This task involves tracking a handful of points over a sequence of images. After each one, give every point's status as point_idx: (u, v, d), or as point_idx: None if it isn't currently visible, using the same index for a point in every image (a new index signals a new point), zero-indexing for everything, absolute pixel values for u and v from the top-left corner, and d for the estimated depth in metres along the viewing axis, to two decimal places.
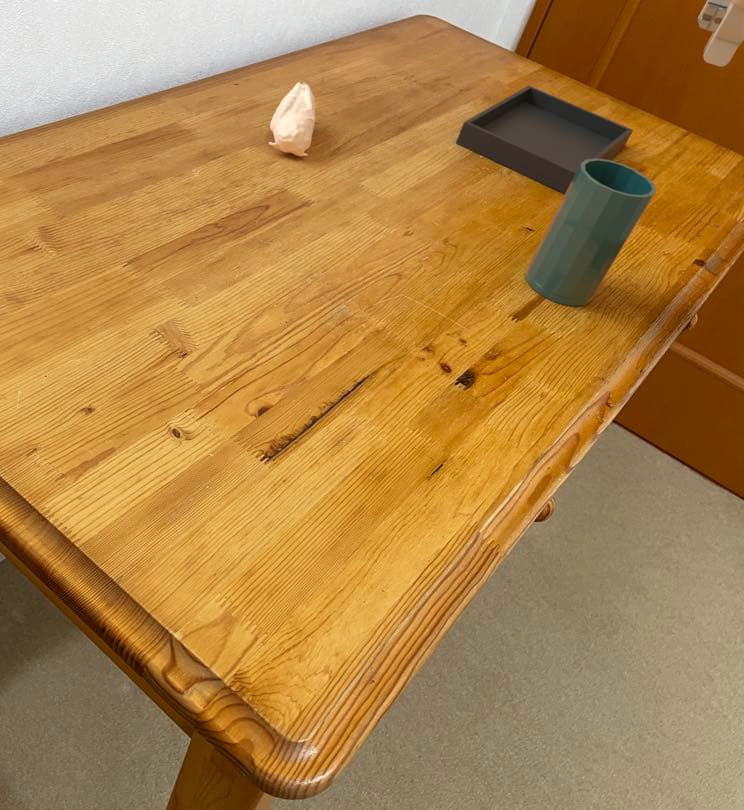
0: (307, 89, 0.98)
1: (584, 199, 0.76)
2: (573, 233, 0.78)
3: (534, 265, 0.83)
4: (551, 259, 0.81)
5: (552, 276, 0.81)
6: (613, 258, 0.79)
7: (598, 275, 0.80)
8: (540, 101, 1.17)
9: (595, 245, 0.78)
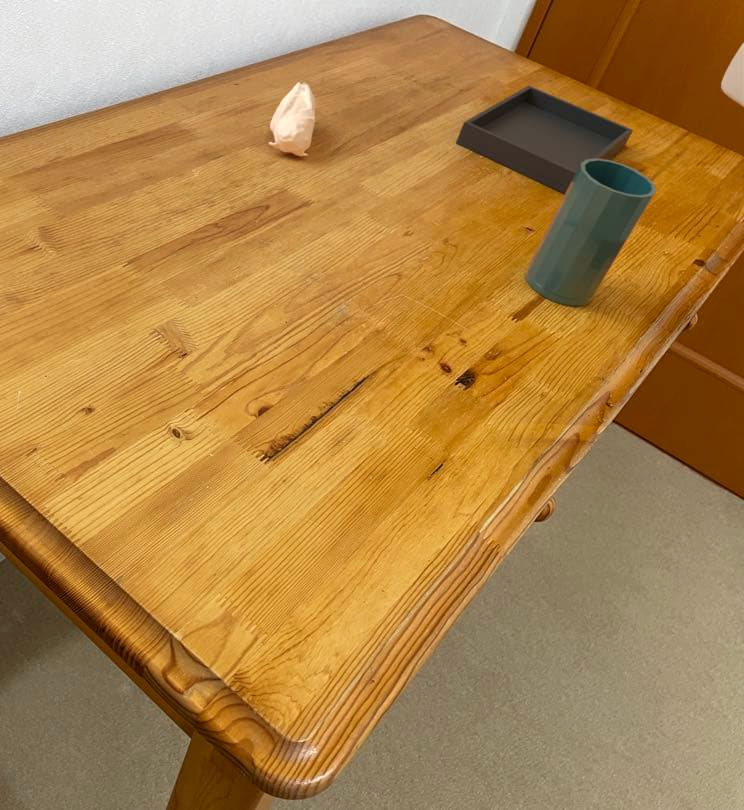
0: (307, 89, 0.98)
1: (584, 199, 0.76)
2: (573, 233, 0.78)
3: (534, 265, 0.83)
4: (551, 259, 0.81)
5: (552, 276, 0.81)
6: (613, 258, 0.79)
7: (598, 275, 0.80)
8: (540, 101, 1.17)
9: (595, 245, 0.78)
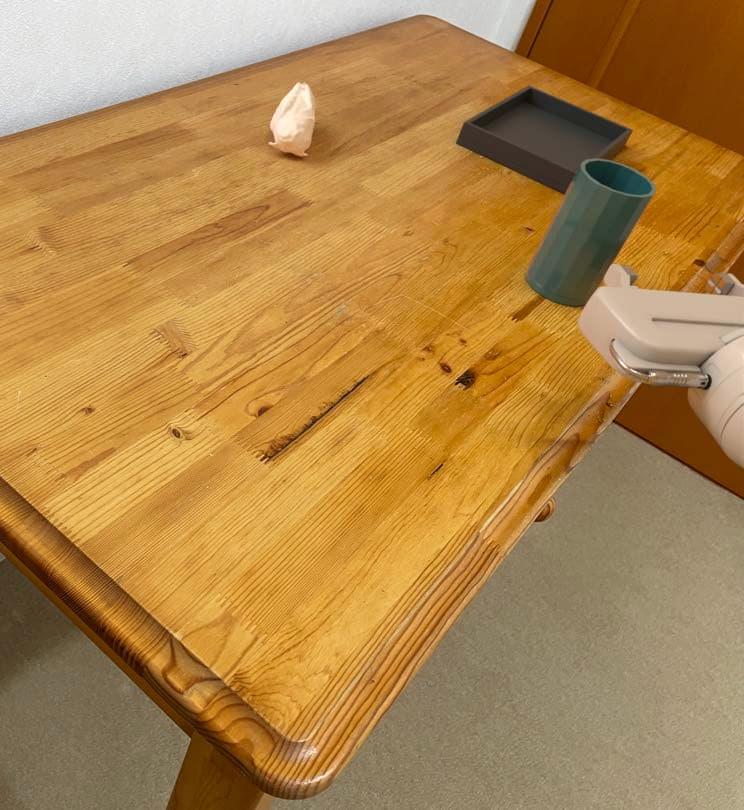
0: (307, 89, 0.98)
1: (584, 199, 0.76)
2: (573, 233, 0.78)
3: (534, 265, 0.83)
4: (551, 259, 0.81)
5: (552, 276, 0.81)
6: (613, 258, 0.79)
7: (598, 275, 0.80)
8: (540, 101, 1.17)
9: (595, 245, 0.78)
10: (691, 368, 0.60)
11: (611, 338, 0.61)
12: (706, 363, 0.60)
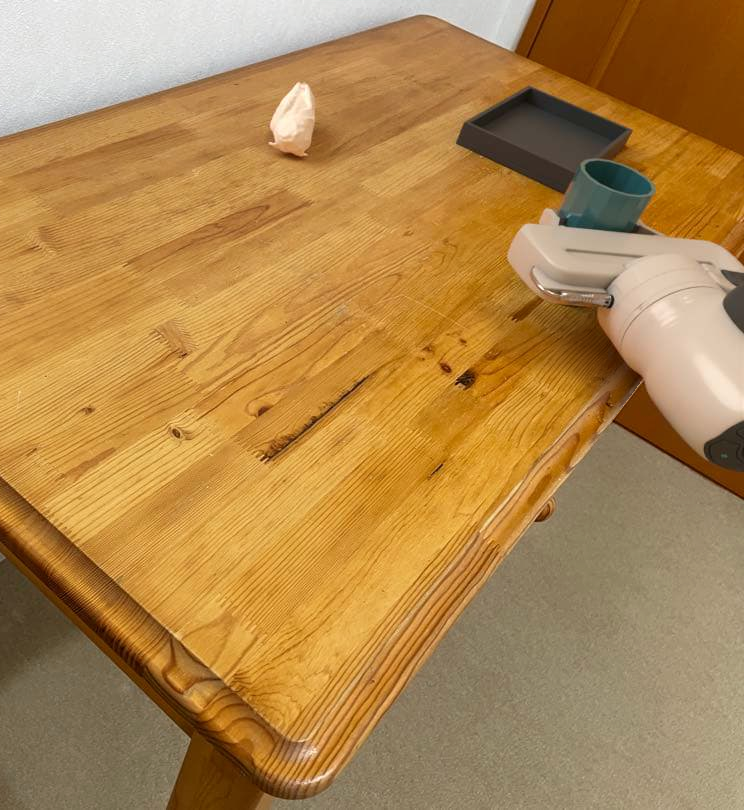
0: (307, 89, 0.98)
1: (583, 199, 0.76)
2: None
3: None
4: None
5: None
6: None
7: None
8: (540, 101, 1.17)
9: None
10: (597, 290, 0.70)
11: (532, 266, 0.72)
12: (610, 286, 0.70)
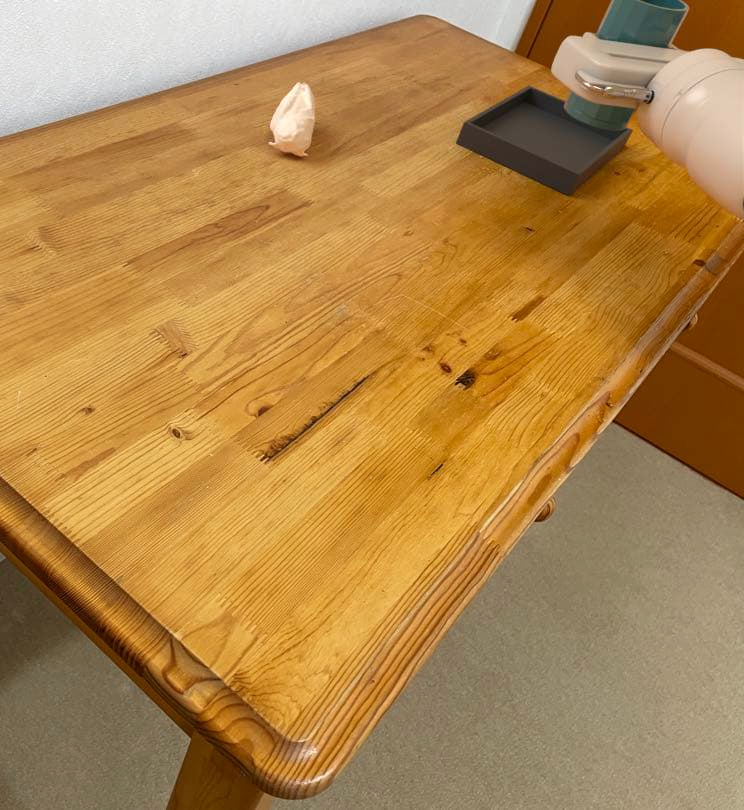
0: (307, 89, 0.98)
1: (621, 17, 0.82)
2: None
3: (573, 93, 0.88)
4: None
5: None
6: None
7: None
8: (540, 101, 1.17)
9: None
10: (638, 87, 0.76)
11: (576, 70, 0.77)
12: (650, 83, 0.76)
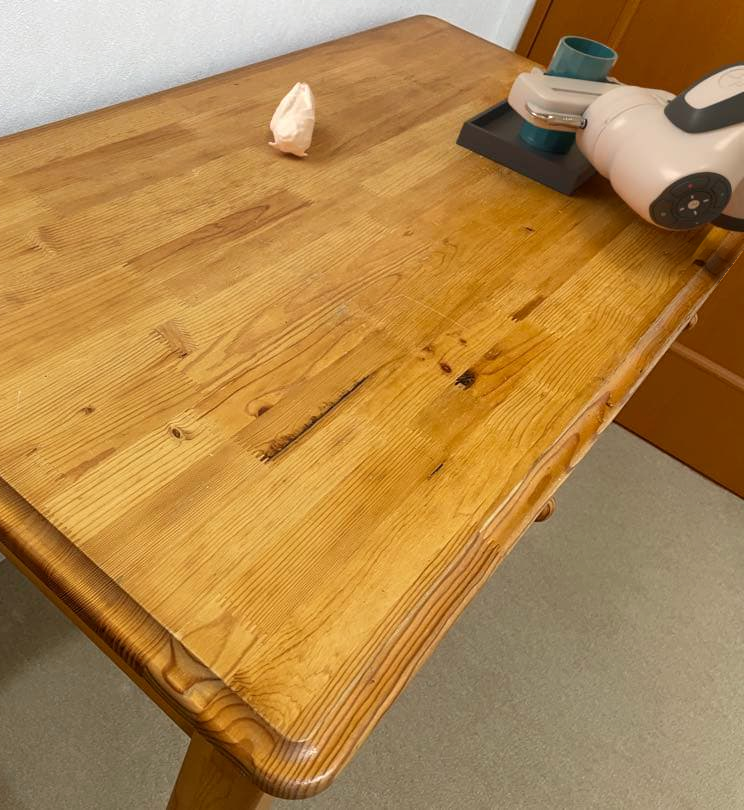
0: (307, 89, 0.98)
1: (563, 63, 1.01)
2: None
3: (526, 123, 1.07)
4: None
5: (540, 129, 1.05)
6: None
7: None
8: None
9: None
10: (575, 116, 0.94)
11: (526, 101, 0.96)
12: (585, 112, 0.94)
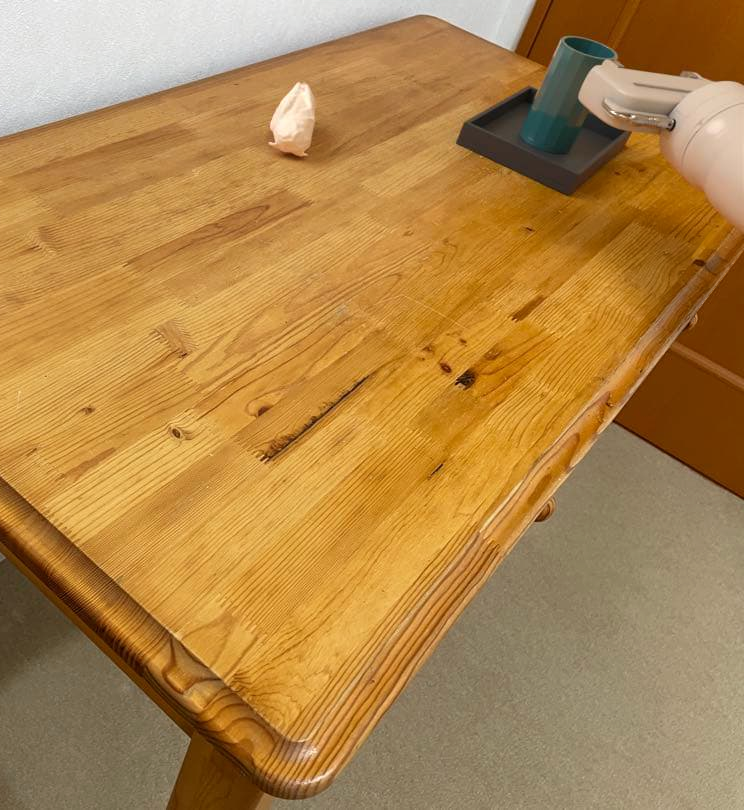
0: (307, 89, 0.98)
1: (563, 63, 1.01)
2: (555, 92, 1.03)
3: (526, 123, 1.07)
4: (539, 115, 1.05)
5: (540, 129, 1.05)
6: (586, 112, 1.04)
7: (575, 127, 1.04)
8: None
9: (572, 100, 1.02)
10: (661, 115, 0.81)
11: (603, 98, 0.83)
12: (672, 112, 0.81)
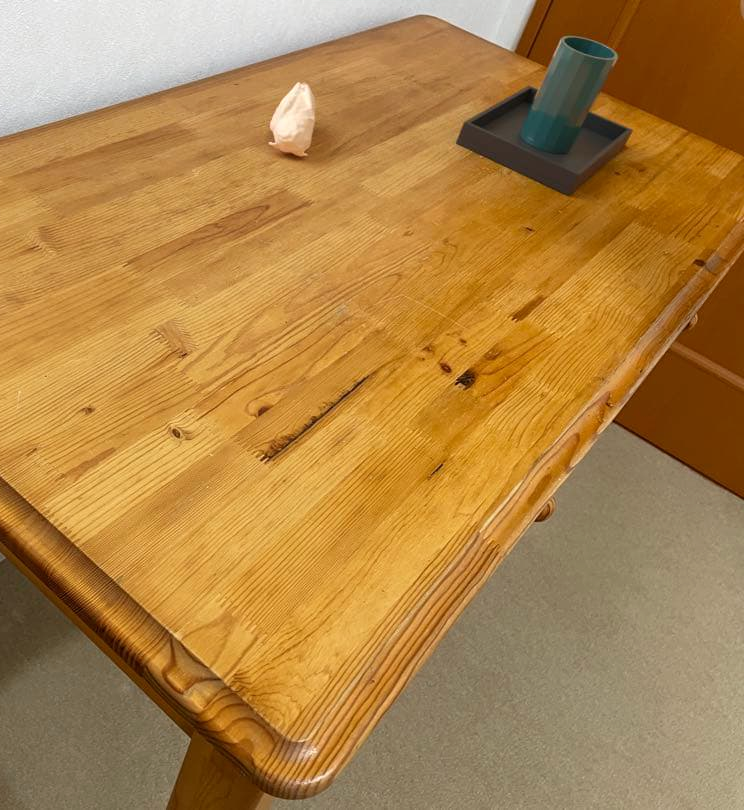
0: (307, 89, 0.98)
1: (563, 63, 1.01)
2: (555, 92, 1.03)
3: (526, 123, 1.07)
4: (539, 115, 1.05)
5: (540, 129, 1.05)
6: (586, 112, 1.04)
7: (575, 127, 1.04)
8: None
9: (572, 100, 1.02)
10: None
11: None
12: None
